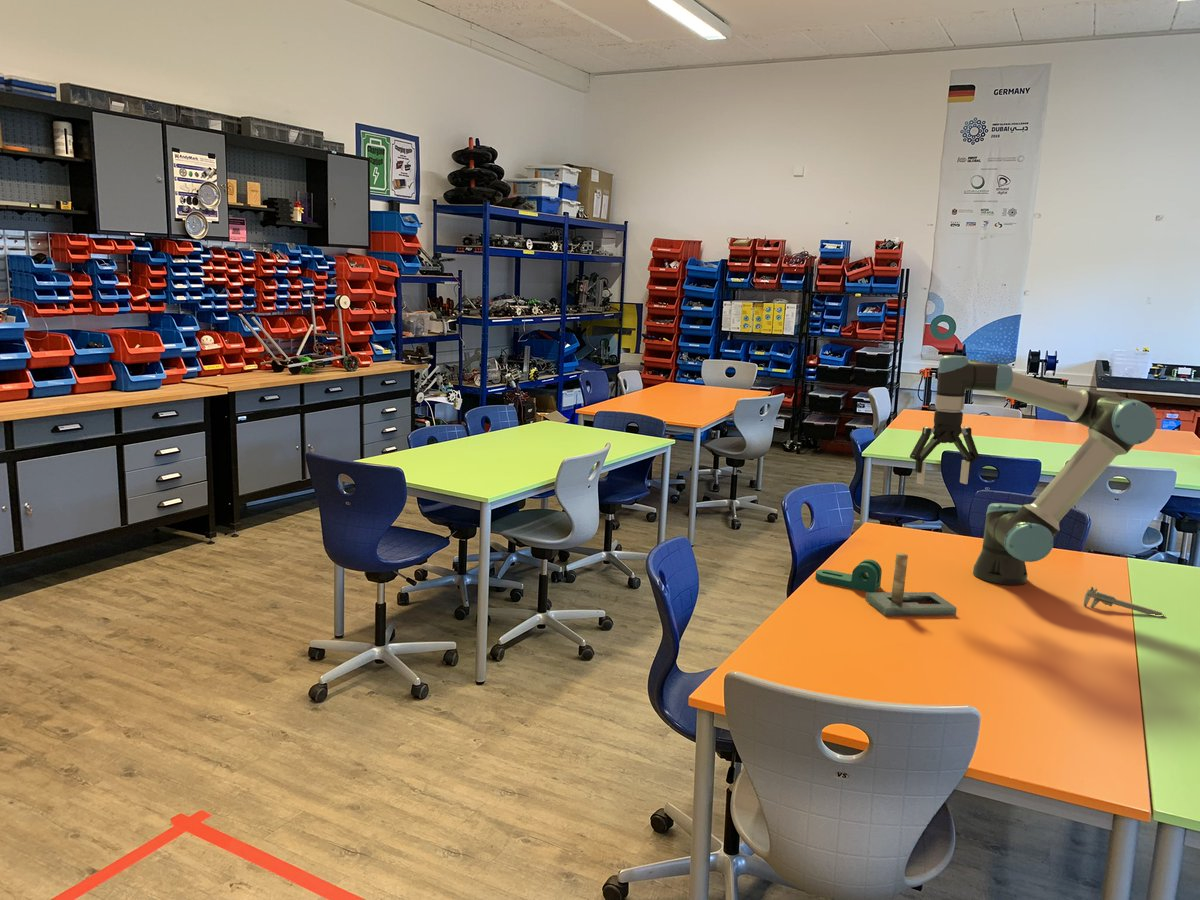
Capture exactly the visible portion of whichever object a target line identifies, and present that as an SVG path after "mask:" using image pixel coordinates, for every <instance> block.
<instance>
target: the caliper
mask: <svg viewBox="0 0 1200 900" xmlns="http://www.w3.org/2000/svg"><path fill="white" fill-rule="evenodd" d="M1091 598H1092V599H1093V600H1092V601H1091V602H1090V603H1091V604H1090V608H1091V609H1094V608H1095V607H1096V606H1097V605H1098V603H1100V602H1101V603H1103V604H1104V605H1107V606H1109V607H1112V606H1113V605H1115V606H1118V607H1123V608H1126V609H1128V610H1133V611H1136V612H1138V613H1143V614H1145V615H1149V614H1155V615H1163V616H1164V615H1165V614H1163V612H1162V611H1160V610H1159V611H1158V610H1155V609H1152V608H1149V607H1145V606H1141V605H1138V604H1135V603H1131V602H1128V601H1126V600H1121V599H1118V598H1116V597H1115V596H1113V595H1110V594H1107V593H1103V592H1100V591H1098V588H1097V587H1095V588H1094V587H1093V586H1091V588H1090V589H1087V590H1086V592H1085V594H1084V599H1083V606H1084V607H1085V608H1086V607H1087V606H1088V603H1089V601H1090V600H1091Z"/></svg>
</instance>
